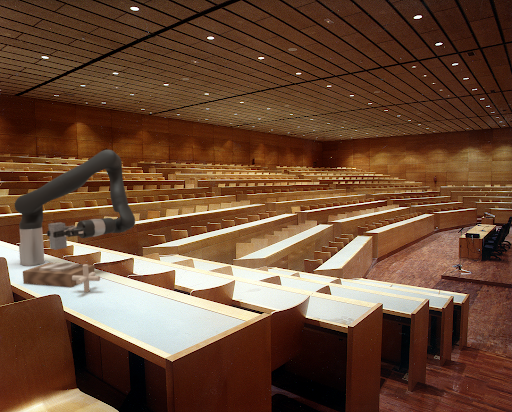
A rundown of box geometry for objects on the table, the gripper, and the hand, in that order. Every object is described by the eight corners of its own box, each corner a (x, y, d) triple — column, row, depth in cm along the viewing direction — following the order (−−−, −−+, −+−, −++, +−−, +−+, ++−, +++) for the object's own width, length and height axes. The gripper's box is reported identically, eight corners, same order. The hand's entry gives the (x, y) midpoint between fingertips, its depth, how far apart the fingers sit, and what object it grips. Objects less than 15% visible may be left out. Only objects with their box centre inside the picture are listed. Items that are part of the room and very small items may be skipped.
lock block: (50, 248, 151) (48, 223, 150) (61, 246, 155) (59, 222, 154) (55, 249, 149) (53, 224, 148) (66, 247, 152) (65, 223, 151)
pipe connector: (106, 287, 143) (105, 261, 142) (92, 296, 133) (91, 268, 132) (81, 286, 144) (80, 261, 143) (66, 295, 134) (64, 268, 133)
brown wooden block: (23, 283, 149) (22, 268, 148) (50, 273, 162) (49, 260, 162) (71, 287, 144) (70, 271, 143) (94, 276, 157) (94, 262, 157)
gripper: (82, 218, 166) (41, 223, 153) (99, 220, 158) (58, 226, 144) (83, 235, 167) (42, 241, 154) (100, 238, 159) (59, 245, 145)
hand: (50, 234), depth 149 cm, fingers closed on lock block, 4 cm apart
